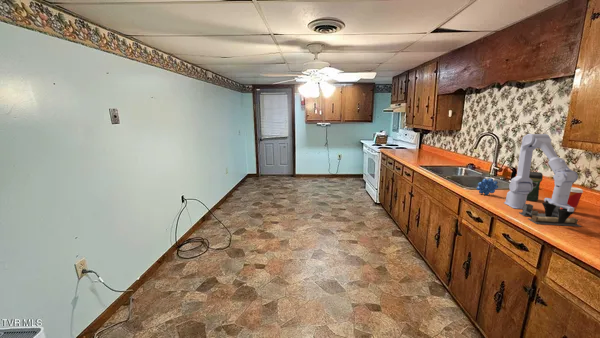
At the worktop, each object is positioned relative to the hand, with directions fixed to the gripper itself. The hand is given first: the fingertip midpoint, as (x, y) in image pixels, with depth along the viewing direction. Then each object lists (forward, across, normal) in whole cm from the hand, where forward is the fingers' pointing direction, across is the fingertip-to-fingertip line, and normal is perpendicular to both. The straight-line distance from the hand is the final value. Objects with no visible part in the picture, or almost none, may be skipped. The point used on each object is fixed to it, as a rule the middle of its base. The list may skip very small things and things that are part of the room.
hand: (554, 219), depth 126 cm
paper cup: (+2, -18, +21) cm, 28 cm away
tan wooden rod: (+1, 0, 0) cm, 1 cm away
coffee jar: (+2, -38, +14) cm, 41 cm away
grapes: (+2, -44, -8) cm, 45 cm away
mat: (+2, 0, 0) cm, 2 cm away
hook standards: (+2, -8, 0) cm, 8 cm away
